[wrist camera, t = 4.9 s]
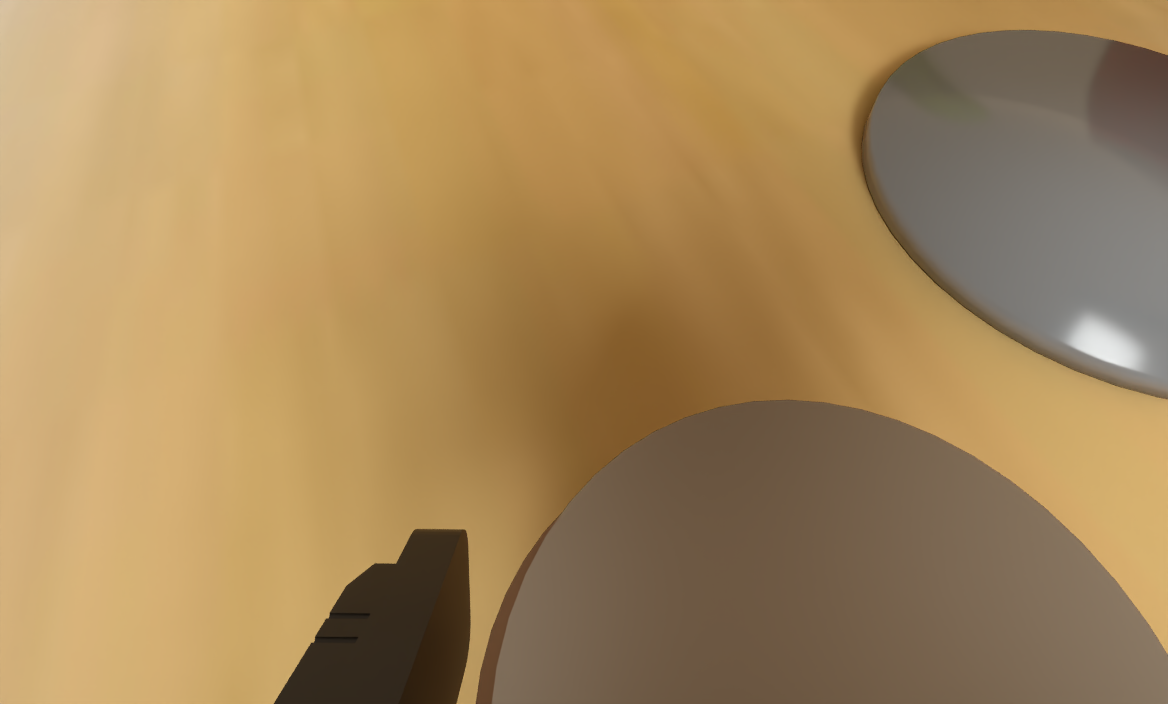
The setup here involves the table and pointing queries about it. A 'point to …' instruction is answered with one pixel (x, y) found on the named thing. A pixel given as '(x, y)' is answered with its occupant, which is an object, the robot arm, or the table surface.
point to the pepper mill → (812, 578)
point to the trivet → (1036, 191)
